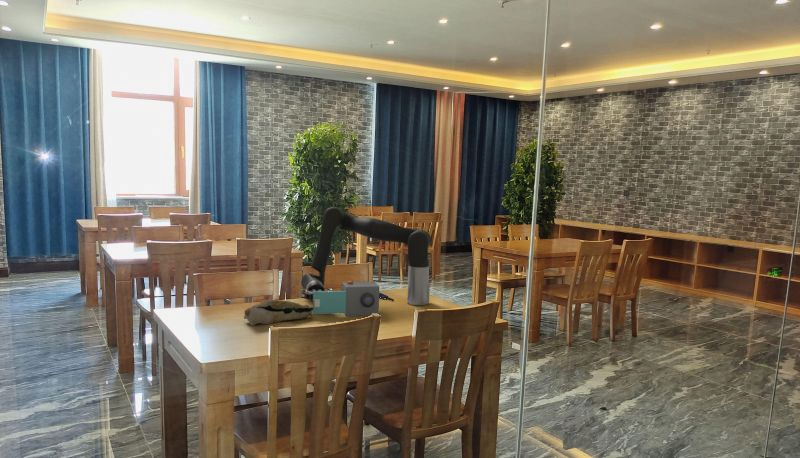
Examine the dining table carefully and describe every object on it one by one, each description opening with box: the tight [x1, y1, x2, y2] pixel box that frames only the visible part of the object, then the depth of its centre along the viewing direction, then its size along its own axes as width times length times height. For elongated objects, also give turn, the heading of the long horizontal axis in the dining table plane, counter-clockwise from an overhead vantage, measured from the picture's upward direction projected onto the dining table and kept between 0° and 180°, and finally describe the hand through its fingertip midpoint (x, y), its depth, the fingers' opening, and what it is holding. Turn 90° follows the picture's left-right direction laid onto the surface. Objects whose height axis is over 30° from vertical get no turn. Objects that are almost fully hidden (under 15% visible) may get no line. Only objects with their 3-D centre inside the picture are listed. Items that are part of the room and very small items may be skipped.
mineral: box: [243, 299, 314, 326], centre depth 214 cm, size 26×9×10 cm
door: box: [312, 290, 346, 315], centre depth 221 cm, size 2×13×9 cm, turn 101°
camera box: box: [341, 280, 380, 317], centre depth 229 cm, size 14×12×13 cm
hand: (318, 299), depth 221 cm, fingers closed
